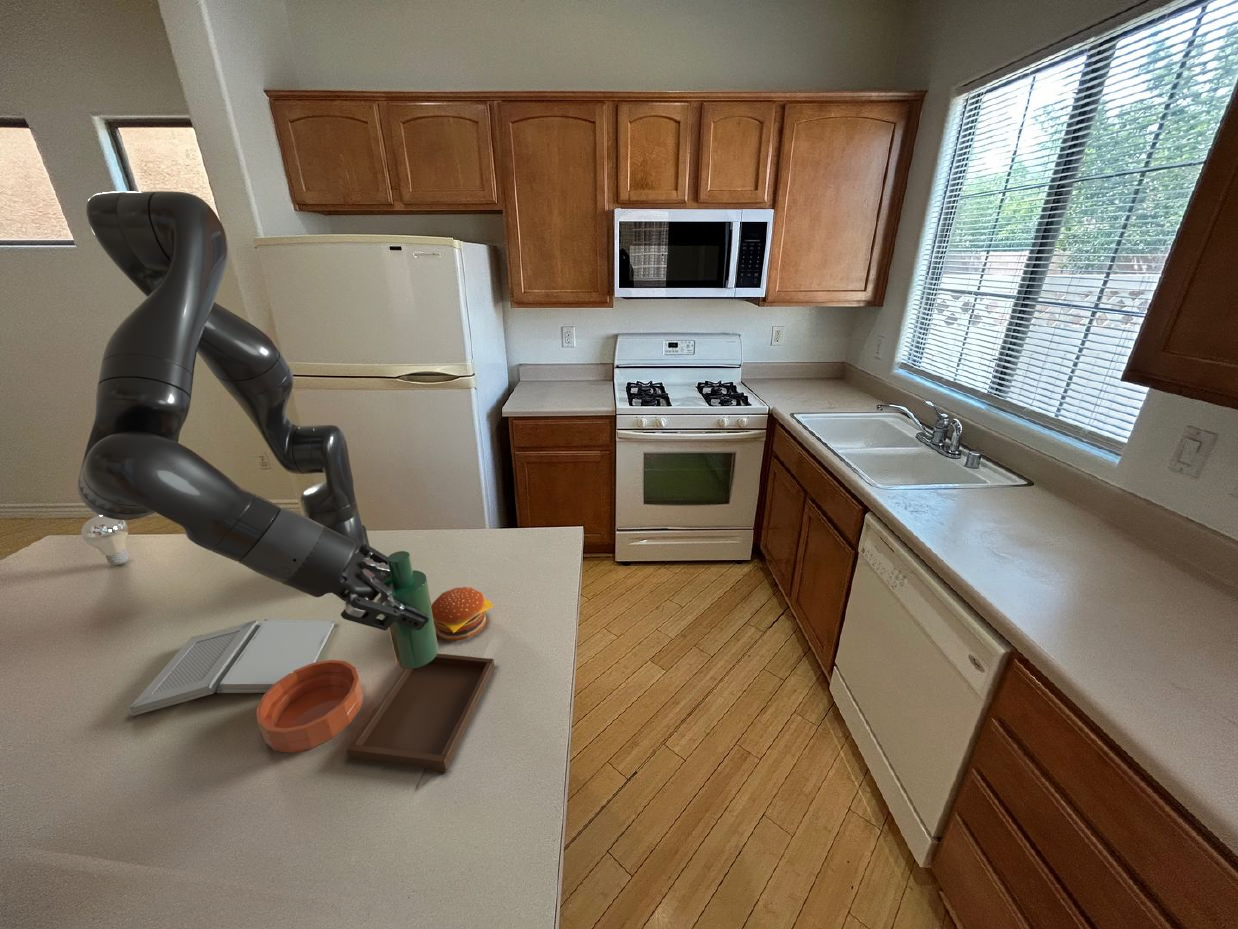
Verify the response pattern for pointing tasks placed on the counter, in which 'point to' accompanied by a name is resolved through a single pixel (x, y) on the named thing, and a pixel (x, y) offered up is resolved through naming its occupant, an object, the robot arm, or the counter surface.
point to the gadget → (235, 661)
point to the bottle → (414, 592)
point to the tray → (424, 713)
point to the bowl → (310, 706)
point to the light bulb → (107, 538)
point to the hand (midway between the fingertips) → (423, 608)
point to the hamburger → (459, 613)
